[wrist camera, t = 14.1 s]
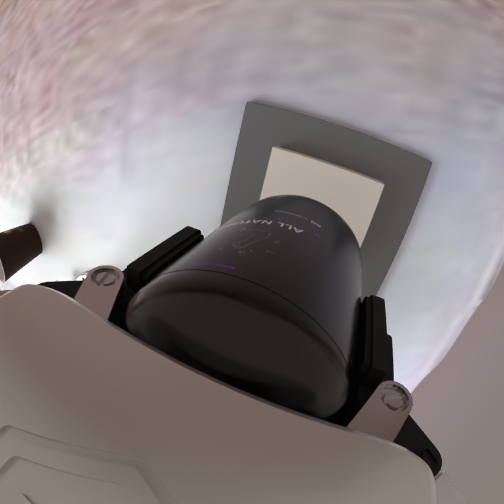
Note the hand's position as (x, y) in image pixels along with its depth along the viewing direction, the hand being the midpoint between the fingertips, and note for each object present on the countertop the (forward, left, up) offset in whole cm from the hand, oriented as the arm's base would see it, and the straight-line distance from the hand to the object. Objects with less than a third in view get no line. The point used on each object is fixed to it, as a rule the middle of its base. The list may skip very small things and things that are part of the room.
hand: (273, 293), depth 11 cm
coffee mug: (-48, -21, -15) cm, 54 cm away
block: (0, -3, -13) cm, 14 cm away
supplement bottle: (0, 0, -3) cm, 3 cm away
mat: (0, -1, -15) cm, 15 cm away
